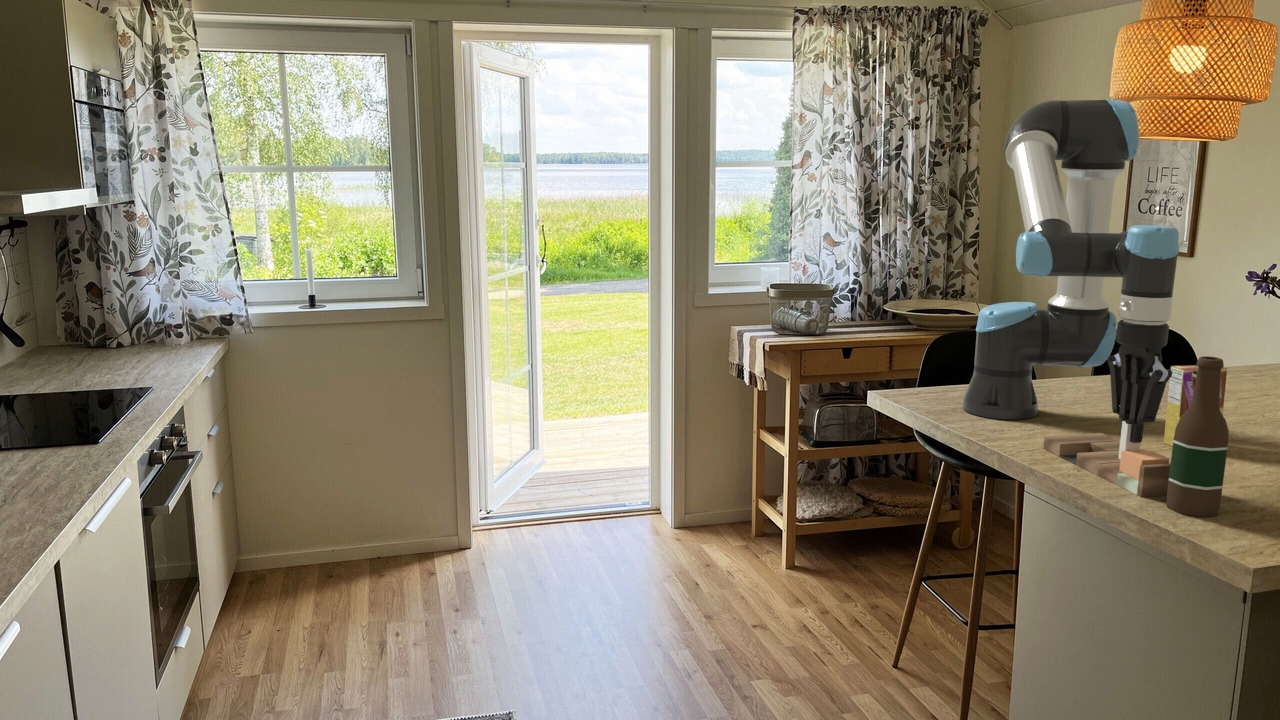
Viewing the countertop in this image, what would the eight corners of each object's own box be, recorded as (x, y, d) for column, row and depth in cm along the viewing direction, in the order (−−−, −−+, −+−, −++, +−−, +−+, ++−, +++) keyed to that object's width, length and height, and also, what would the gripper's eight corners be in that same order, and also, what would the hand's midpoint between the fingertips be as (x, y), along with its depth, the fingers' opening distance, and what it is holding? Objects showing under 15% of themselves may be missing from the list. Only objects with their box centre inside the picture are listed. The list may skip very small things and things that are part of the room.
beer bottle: (1174, 516, 148) (1192, 362, 143) (1156, 499, 156) (1173, 352, 151) (1229, 519, 147) (1250, 364, 142) (1209, 502, 154) (1228, 353, 150)
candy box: (1205, 441, 188) (1214, 363, 185) (1220, 447, 184) (1230, 368, 180) (1161, 442, 187) (1170, 364, 184) (1175, 449, 183) (1185, 369, 180)
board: (1043, 448, 183) (1045, 423, 182) (1100, 445, 185) (1103, 419, 184) (1141, 496, 157) (1144, 467, 156) (1206, 492, 159) (1210, 462, 158)
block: (1119, 470, 163) (1121, 450, 162) (1145, 468, 164) (1148, 449, 163) (1139, 480, 158) (1142, 460, 158) (1166, 478, 159) (1169, 458, 159)
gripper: (1097, 315, 165) (1084, 449, 169) (1150, 328, 152) (1134, 472, 157) (1137, 314, 166) (1122, 446, 171) (1192, 327, 153) (1175, 469, 158)
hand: (1128, 459), depth 164 cm, fingers closed
